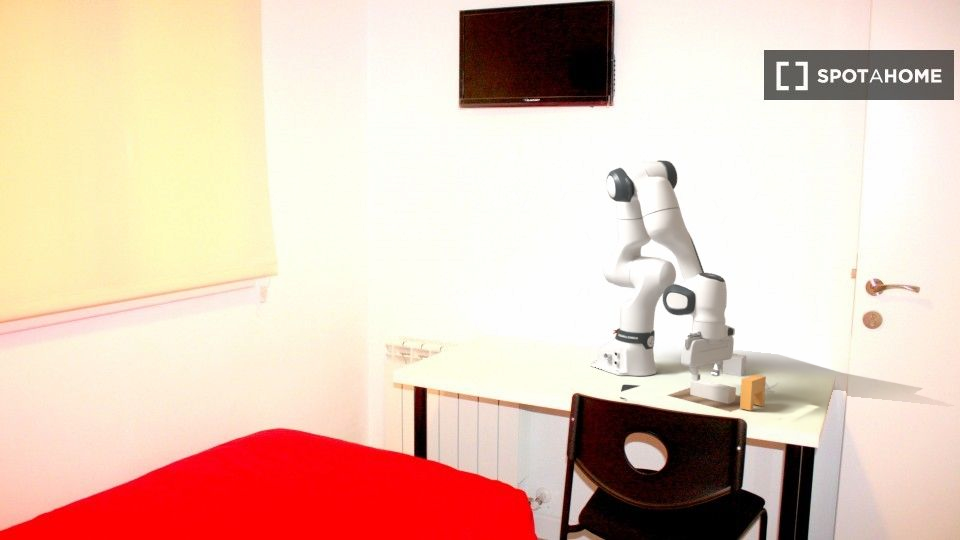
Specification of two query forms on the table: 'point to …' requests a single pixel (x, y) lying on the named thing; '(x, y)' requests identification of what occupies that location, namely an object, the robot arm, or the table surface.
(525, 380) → the table surface
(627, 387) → the phone
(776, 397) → the table surface
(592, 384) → the table surface
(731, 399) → the long white block
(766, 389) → the scissors
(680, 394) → the board
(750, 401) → the upright orange block
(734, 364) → the grey block
